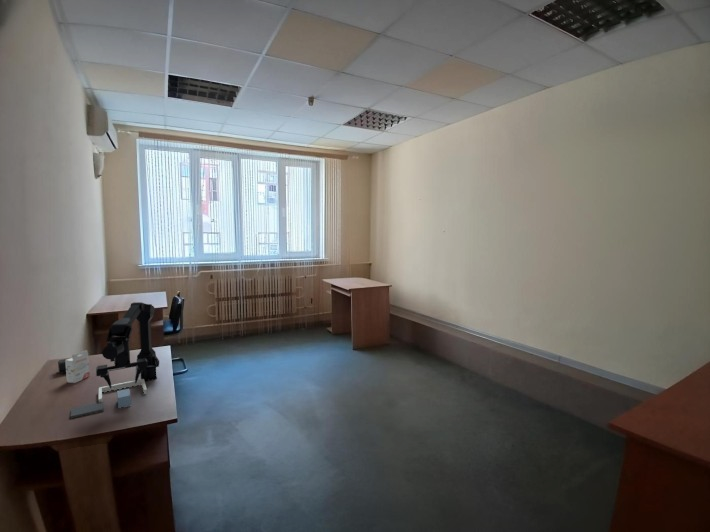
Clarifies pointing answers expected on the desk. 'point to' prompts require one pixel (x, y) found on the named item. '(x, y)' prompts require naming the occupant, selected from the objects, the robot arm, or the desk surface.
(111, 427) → the desk surface
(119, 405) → the blank block
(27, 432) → the desk surface
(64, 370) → the end cap
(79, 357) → the ink cartridge box
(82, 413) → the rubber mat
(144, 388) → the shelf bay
